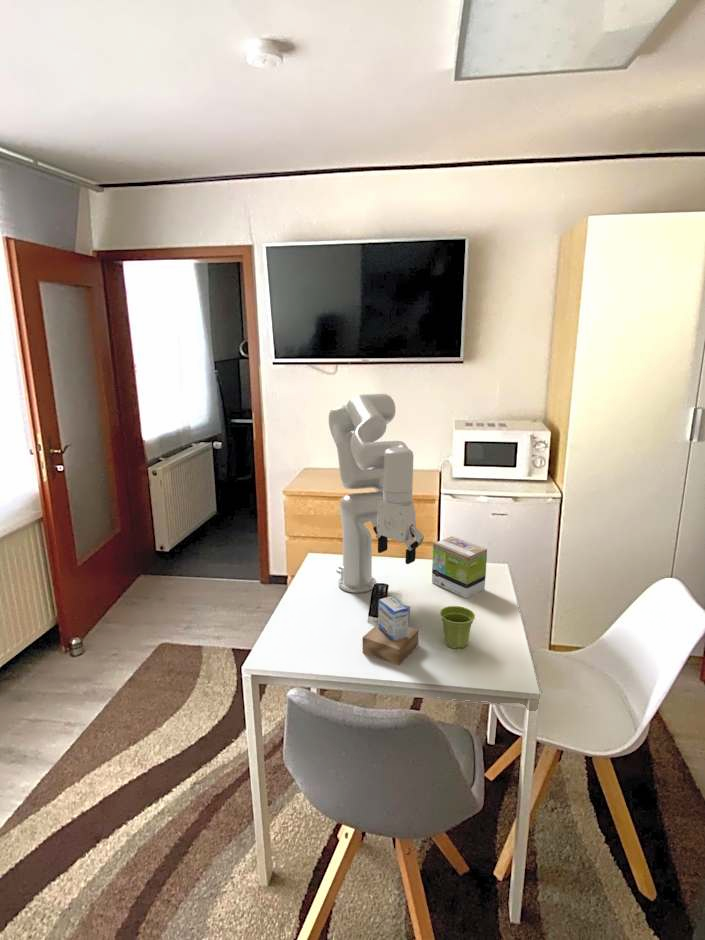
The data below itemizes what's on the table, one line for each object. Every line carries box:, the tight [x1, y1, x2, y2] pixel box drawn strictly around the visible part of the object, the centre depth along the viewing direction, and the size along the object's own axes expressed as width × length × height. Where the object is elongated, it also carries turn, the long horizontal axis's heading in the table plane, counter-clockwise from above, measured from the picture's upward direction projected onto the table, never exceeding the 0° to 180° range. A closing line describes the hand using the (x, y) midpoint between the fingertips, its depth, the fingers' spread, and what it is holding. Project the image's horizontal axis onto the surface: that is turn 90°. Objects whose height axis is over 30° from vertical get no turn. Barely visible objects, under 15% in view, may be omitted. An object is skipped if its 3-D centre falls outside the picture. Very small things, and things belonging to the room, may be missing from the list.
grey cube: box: [403, 604, 411, 624], centre depth 166 cm, size 5×5×5 cm
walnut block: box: [362, 623, 420, 666], centre depth 154 cm, size 11×11×5 cm
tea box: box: [431, 536, 488, 599], centre depth 188 cm, size 15×10×15 cm, turn 41°
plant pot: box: [439, 605, 476, 649], centre depth 156 cm, size 9×9×9 cm
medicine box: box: [377, 595, 409, 641], centre depth 152 cm, size 8×4×9 cm, turn 30°
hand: (396, 556), depth 152 cm, fingers open, 9 cm apart
